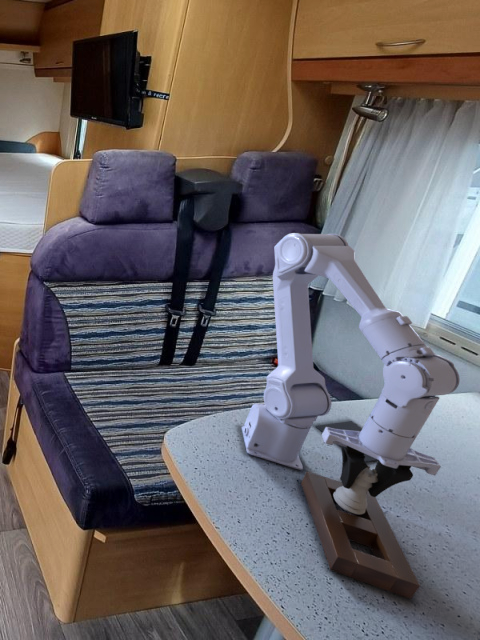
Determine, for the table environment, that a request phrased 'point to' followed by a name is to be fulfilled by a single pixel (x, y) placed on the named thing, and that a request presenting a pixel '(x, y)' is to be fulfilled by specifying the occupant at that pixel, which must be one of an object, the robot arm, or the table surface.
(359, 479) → the rook chess piece
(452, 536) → the table surface
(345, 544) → the frame
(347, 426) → the pad
